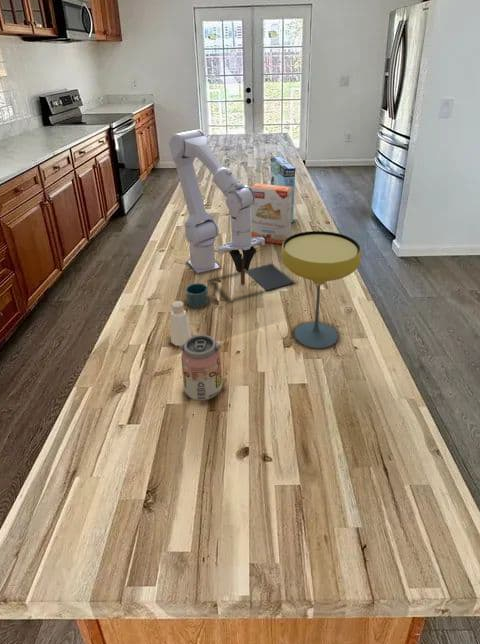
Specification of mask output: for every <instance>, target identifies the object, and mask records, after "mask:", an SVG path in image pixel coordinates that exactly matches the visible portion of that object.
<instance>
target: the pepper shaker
mask: <svg viewBox="0 0 480 644" xmlns="http://www.w3.org/2000/svg"><path fill="white" fill-rule="evenodd" d="M171 307H172V308H171V309H172V311H171V313H170V343H171V344H173V345H174V346H176V347H177V346H180V345H181V344H184V343H185V341H186V340H187V339H189V338H191V337H192V332H191V328H190V322H189V319H188V314H187V311H186V310H185V309H184V302H183V301H181V300H176V301H173V302H172V303H171Z"/></svg>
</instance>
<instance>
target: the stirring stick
mask: <svg viewBox="0 0 480 644" xmlns="http://www.w3.org/2000/svg"><path fill="white" fill-rule="evenodd" d="M245 271H246V270H245V263H244V257H243V255H242V258H241V272H240V273H239V274H240V285H245V284H246V272H245Z"/></svg>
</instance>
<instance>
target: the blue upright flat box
mask: <svg viewBox="0 0 480 644" xmlns="http://www.w3.org/2000/svg"><path fill="white" fill-rule="evenodd" d="M269 176H270V179H269V180H270V181H269V182H270V183H269V185H277V186H287V187H292V205H291V223H294V211H295V209H294V207H295V206H294V205H295V187H296V186H295V185H296V167H295V166H294V165H292V164H290V163H289V162H288V161H287V160H286V159H284V158H283V157H282V156H272V157H270V175H269Z"/></svg>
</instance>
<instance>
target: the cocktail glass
mask: <svg viewBox="0 0 480 644" xmlns="http://www.w3.org/2000/svg"><path fill="white" fill-rule="evenodd" d="M281 245H282V246H281V261H282V263H283V265H284V266H285V267H286V268H287V270H289V271H290V272H291V273H293V274H294V275H296V276H298V277H300V278H303V279H306V280H309V281H312V282H313V284H314V285H316V286H317V288H316V304H315V305H316V306H315V316H314V321H310V322H309V321H308V322H305V323H301V324H300V325H298V326H297V327H296V329H295V330H294V339H295V340H296V341H297V342H298V343H299V344H301V345H302V346H304V347H307V348H311V349H327V348H330V347H332V346H333V345H334V344H336V342H337V341H338V338H339V337H338V333H337V331H336V330H335V328H334V327H332V326H330V325H329V324H326V323H323V322H319V313H320V311H319V310H320V296H321V295H320V294H321V286H323V285H324V284H325V283H326V282H332V281H337V280H341V279H344V278H347V277H348V276H350V275H351V274H353V273H354V272H355V271H357V269H359V266H360V265H361V260H362V248H361V245H360V244H359V243H358V241H357V240H355V239H353V238H351V237H349V236H347V235H346V234H342V233H337V232H333V231H327V230H326V231H325V230H312V231H303V232H298V233H295V234H293V235H291V236H290V237H288V238H287V239H286V240H285V241H284V243H283V244H281Z"/></svg>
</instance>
